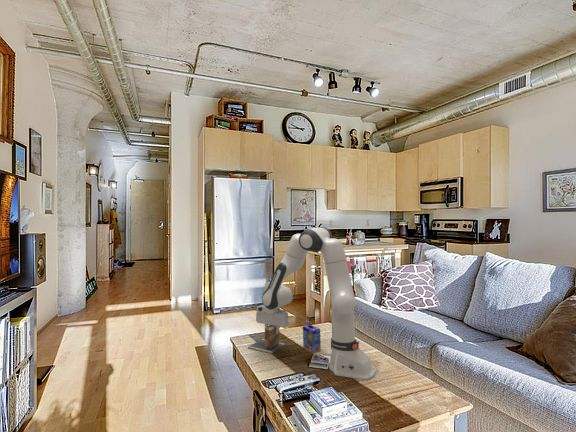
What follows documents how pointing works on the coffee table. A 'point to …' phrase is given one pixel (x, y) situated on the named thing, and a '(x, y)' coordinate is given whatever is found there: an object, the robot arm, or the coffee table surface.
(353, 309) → the robot arm
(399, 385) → the coffee table surface
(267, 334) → the slab
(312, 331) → the ink cartridge box
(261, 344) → the mat
